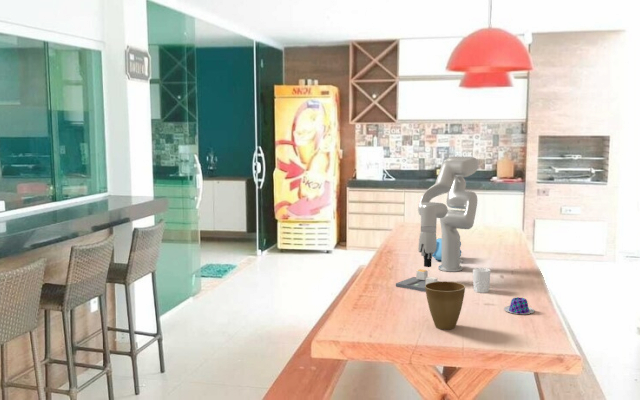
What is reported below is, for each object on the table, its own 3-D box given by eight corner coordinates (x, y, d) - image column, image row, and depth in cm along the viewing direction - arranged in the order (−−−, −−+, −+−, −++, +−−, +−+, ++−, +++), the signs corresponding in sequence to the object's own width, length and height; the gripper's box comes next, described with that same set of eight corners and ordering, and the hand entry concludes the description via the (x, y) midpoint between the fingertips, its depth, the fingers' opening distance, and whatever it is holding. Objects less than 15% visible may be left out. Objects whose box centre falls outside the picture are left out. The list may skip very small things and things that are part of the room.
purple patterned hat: (515, 305, 269) (515, 293, 268) (540, 311, 259) (540, 299, 259) (497, 310, 261) (498, 298, 261) (523, 317, 252) (523, 304, 251)
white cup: (477, 293, 287) (478, 272, 285) (469, 289, 294) (469, 268, 293) (493, 292, 289) (493, 270, 287) (484, 288, 296) (484, 267, 295)
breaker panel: (413, 279, 313) (413, 276, 313) (457, 287, 298) (457, 283, 298) (395, 286, 301) (395, 282, 301) (440, 294, 286) (440, 291, 286)
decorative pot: (464, 258, 360) (465, 235, 359) (455, 264, 346) (456, 239, 345) (437, 256, 368) (437, 233, 367) (427, 261, 355) (427, 237, 353)
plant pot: (458, 320, 249) (459, 280, 247) (469, 332, 234) (469, 290, 232) (421, 321, 248) (421, 281, 246) (429, 333, 234) (429, 291, 232)
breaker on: (428, 285, 295) (428, 276, 294) (437, 286, 292) (437, 278, 291) (425, 286, 292) (425, 278, 292) (433, 288, 289) (434, 279, 289)
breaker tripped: (419, 277, 309) (419, 269, 309) (427, 279, 306) (427, 270, 306) (416, 278, 307) (416, 270, 306) (424, 280, 304) (424, 271, 304)
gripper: (429, 227, 316) (428, 263, 318) (413, 230, 305) (412, 267, 306) (442, 228, 311) (442, 265, 313) (427, 231, 300) (426, 270, 302)
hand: (427, 266), depth 310 cm, fingers closed
